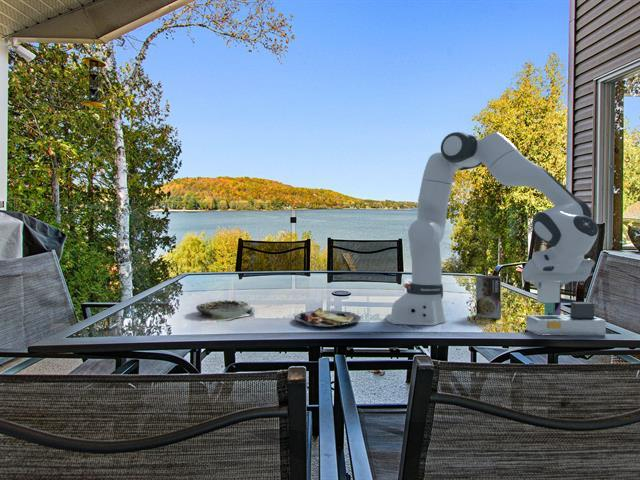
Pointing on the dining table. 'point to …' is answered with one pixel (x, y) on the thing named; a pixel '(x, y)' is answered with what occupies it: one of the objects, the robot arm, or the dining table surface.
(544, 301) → the panel
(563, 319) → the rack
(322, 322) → the food plate
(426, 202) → the robot arm
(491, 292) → the coffee box
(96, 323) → the dining table surface
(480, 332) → the dining table surface
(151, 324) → the dining table surface
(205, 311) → the grey round shallow dish
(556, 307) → the spray can
